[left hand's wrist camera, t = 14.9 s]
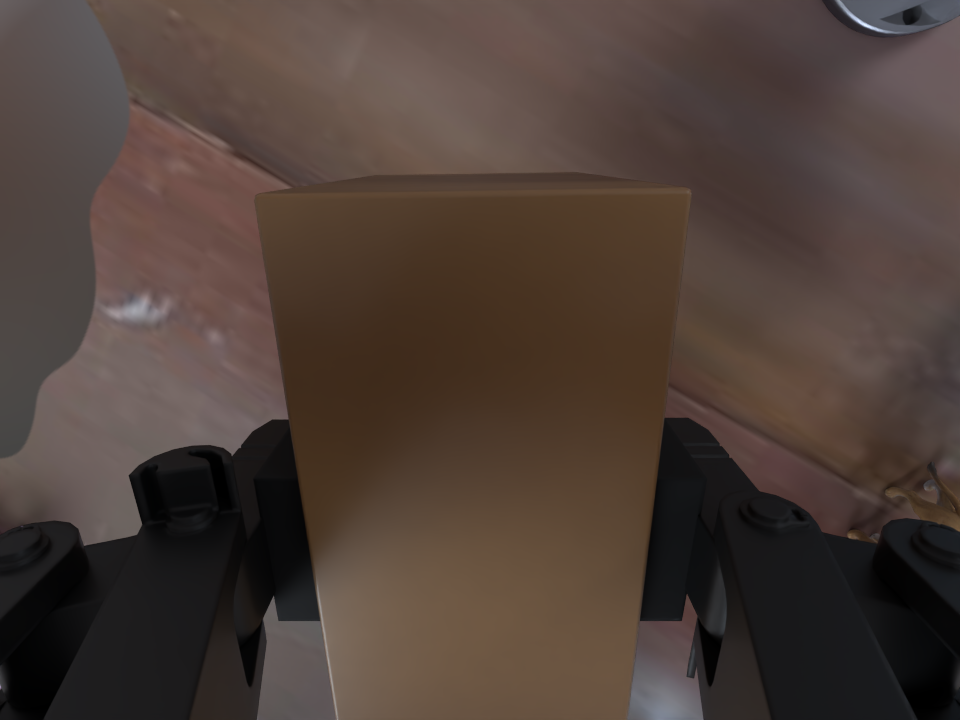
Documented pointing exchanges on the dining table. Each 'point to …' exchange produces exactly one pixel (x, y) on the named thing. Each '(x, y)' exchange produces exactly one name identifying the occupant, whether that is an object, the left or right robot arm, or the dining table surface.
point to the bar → (477, 430)
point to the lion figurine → (924, 506)
